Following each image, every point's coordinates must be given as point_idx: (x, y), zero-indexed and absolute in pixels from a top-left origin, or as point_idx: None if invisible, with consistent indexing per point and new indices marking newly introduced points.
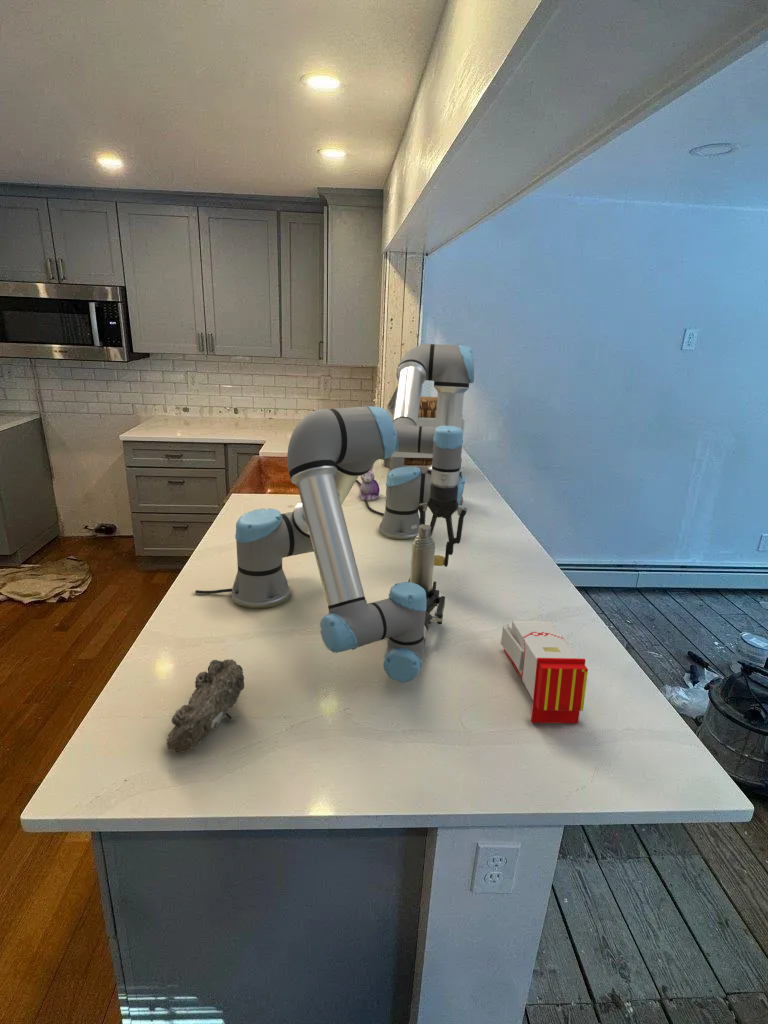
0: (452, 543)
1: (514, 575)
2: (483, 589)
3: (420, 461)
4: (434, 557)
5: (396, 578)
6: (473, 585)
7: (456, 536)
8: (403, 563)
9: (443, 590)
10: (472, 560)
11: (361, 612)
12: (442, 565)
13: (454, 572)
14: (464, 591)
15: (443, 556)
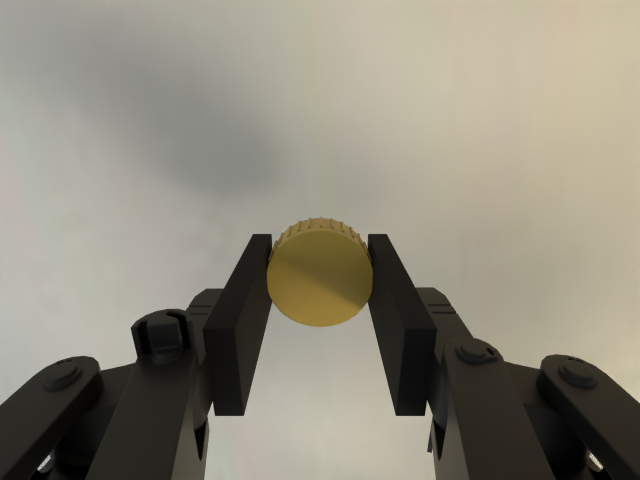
0: (151, 351)
1: None
2: (115, 252)
3: None
4: (349, 281)
5: (506, 238)
6: (165, 275)
7: (28, 443)
8: None
9: (281, 188)
10: (218, 462)
11: None
12: (283, 234)
13: (265, 359)
14: (188, 208)
15: (288, 317)
